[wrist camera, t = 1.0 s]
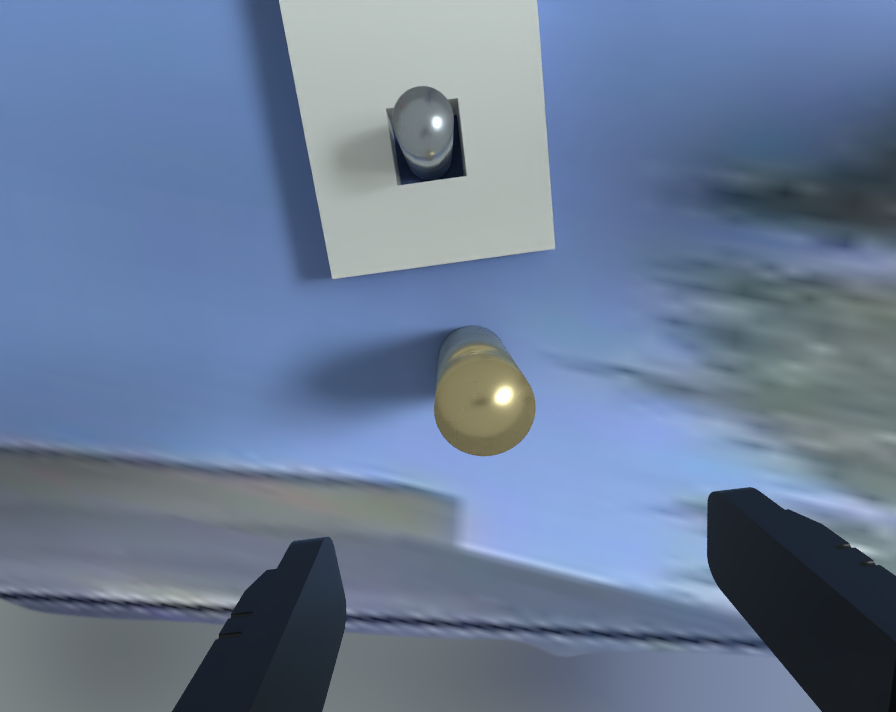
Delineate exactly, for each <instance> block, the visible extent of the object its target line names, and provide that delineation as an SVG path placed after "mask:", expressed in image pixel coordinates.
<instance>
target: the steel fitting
mask: <svg viewBox="0 0 896 712" xmlns="http://www.w3.org/2000/svg"><path fill="white" fill-rule="evenodd" d="M392 125H393V130H394V132H395V135H396V137H397V140H398V142H399V145H400V147H401V149H402V152H403V154H404V157H405V159H406V161H407V164H408V166H409V168H410V169H411V171H412V172H413V173H414V174H415V175H416V176H418V177H420V178H422V179H426V180H432V179H436V178H439V177H441V176H442V175H443V174H444V173H445V172H446V171H447V170H448V168H449V167H450V164H451V161H452V149H453V128H454V115H453V111H452V107H451V105H450V103H449V101H448V100H447V98H446V97H445V96H444V95H443V94H442V93H441V92H439V91H438V90H436V89H434V88H432V87H428V86H417V87H413V88H411V89H409V90H407V91H406V92H404V93H403V94H402V95H401V96H400V98H399V99H398V100H397V102H396V104H395V106H394V110H393V114H392Z"/></svg>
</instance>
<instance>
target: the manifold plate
mask: <svg viewBox="0 0 896 712" xmlns="http://www.w3.org/2000/svg"><path fill="white" fill-rule="evenodd" d="M279 4H280V9H281V14H282V19H283V24H284V30H285V35H286V40H287V45H288V51H289V56H290V61H291V66H292V71H293V77H294V82H295V87H296V92H297V97H298V103H299V108H300V113H301V118H302V123H303V129H304V134H305V139H306V144H307V150H308V155H309V160H310V165H311V170H312V176H313V181H314V186H315V191H316V196H317V202H318V207H319V212H320V217H321V223H322V228H323V233H324V238H325V243H326V249H327V254H328V259H329V264H330V269H331V275H332V279H337V278H345V277H352V276H359V275H367V274H374V273H381V272H389V271H396V270H403V269H411V268H418V267H425V266H433V265H440V264H447V263H455V262H462V261H469V260H477V259H484V258H491V257H499V256H506V255H513V254H521V253H528V252H535V251H543V250H550V249H555V238H554V224H553V211H552V197H551V184H550V170H549V156H548V143H547V129H546V115H545V102H544V88H543V75H542V61H541V47H540V34H539V20H538V6H537V0H279ZM417 86H428V87H432V88H434V89H436V90H438V91H439V92H441V93H442V94H443V95H444V96H445V97H446V98H447V100H448V101H449V103H450V105H451V107H452V111H453V115H457V121H458V130H459V138H460V147H461V155H462V164H463V173H464V176H462V177H455V178H448V179H441V180H434V181H427V182H419V183H412V184H405V185H401V181H400V175H399V168H398V161H397V155H396V148H395V141H394V134H393V128H392V114H393V110H394V106H395V104H396V102H397V100H398V99H399V98H400V96H401V95H402V94H403V93H404V92H406V91H407V90H409V89H411V88H413V87H417Z"/></svg>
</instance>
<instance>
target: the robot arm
mask: <svg viewBox="0 0 896 712" xmlns="http://www.w3.org/2000/svg"><path fill="white" fill-rule="evenodd" d="M707 558H708V564H709V567H710V571H711V573H712V576H713V578H714V580H715V582H716V584H717V585H718V587H719V588H720V590H721V591H722V592H723V593H724V595H725V596H726V597H727V598H728V599H729V601H730V602H731V603H732V604H733V605H734V607H735V608H736V609H737V610H738V611H739V613H740V614H741V615H742V616H743V617H744V619H745V620H746V621H747V622H748V623H749V625H750V626H751V627H752V628H753V629H754V631H755V632H756V633H757V634H758V635H759V637H760V638H761V639H762V640H763V641H764V643H765V644H766V645H767V646H768V647H769V649H770V650H771V651H772V652H773V653H774V655H775V656H776V657H777V658H778V659H779V661H780V662H781V663H782V664H783V665H784V667H785V668H786V669H787V670H788V671H789V673H790V674H791V675H792V676H793V677H794V678H795V680H796V681H797V682H798V684H799V685H800V686H801V687H802V688H803V690H804V691H805V692H806V693H807V694H808V696H809V697H810V698H811V699H812V700H813V701H814V703H815V704H816V705H817V706H818V707H819V709H820V710H821V711H822V712H896V576H895V575H893V574H892V573H891V572H889V571H888V570H886V569H885V568H884V567H882V566H881V565H875V563H874V560H872V559H871V558H869V557H868V556H866V555H865V554H864V553H862V552H861V551H859V550H858V549H857V548H851V546H850V544H849V543H848V542H847V541H845V540H844V539H842V538H841V537H839V536H838V535H837V534H835V533H834V532H832V531H831V530H830V529H828V528H827V527H825V526H824V525H822V524H821V523H818V522H816V521H814V520H811V519H809V518H807V517H805V516H802V515H800V514H798V513H796V512H793V511H791V510H789V509H787V510H784V509H783V508H781V507H780V506H779V505H777V504H776V503H775V502H773V501H772V500H771V499H769V498H768V497H767V496H765V495H764V494H763V493H761V492H760V491H758V490H757V489H755V488H751V487H748V488H740V489H731V490H723V491H715V492H712V493H711V494H710V495H709V497H708V514H707ZM345 623H346V599H345V594H344V589H343V585H342V580H341V576H340V571H339V567H338V562H337V558H336V553H335V548H334V545H333V542H332V540H331V538H330V537H323V538H315V539H307V540H298V541H293V542H292V543H291V544H290V546H289V547H288V549H287V551H286V553H285V555H284V557H283V558H282V560H281V562H280V564H279V566H278V568H277V569H272V570H266V571H265V572H264V573H263V574H262V575H261V576H260V577H259V578H258V579H257V580H256V581H255V582H254V583H253V584H252V585H251V586H250V587H249V588H247V589H246V590H245V592H244V593H243V595H242V597H241V598H240V600H239V602H238V603H237V605H236V607H235V608H234V610H233V612H232V613H231V618H230V619H228V620H227V622H226V623H225V625H224V627H223V628H222V630H221V632H220V633H219V638H218V639H217V640H215V642H214V643H213V645H212V647H211V648H210V650H209V651H208V653H207V655H206V656H205V658H204V660H203V661H202V663H201V665H200V666H199V668H198V670H197V671H196V673H195V675H194V676H193V678H192V680H191V681H190V683H189V684H188V686H187V688H186V689H185V691H184V693H183V694H182V696H181V698H180V699H179V701H178V703H177V704H176V706H175V708H174V709H173V711H172V712H322V710H323V707H324V703H325V699H326V696H327V692H328V688H329V685H330V681H331V677H332V674H333V670H334V666H335V663H336V659H337V655H338V652H339V648H340V645H341V641H342V637H343V634H344V629H345Z"/></svg>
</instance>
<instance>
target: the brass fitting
mask: <svg viewBox="0 0 896 712" xmlns="http://www.w3.org/2000/svg"><path fill="white" fill-rule="evenodd" d="M434 414H435V420H436V423H437V426H438V428H439V430H440V432H441V434H442V435H443V437H444V438H445V439H446V440H447V441H448V442H449V443H450V444H451V445H452V446H454V447H455V448H457V449H458V450H460V451H462V452H465V453H468V454H471V455H476V456H492V455H497V454H500V453H503V452H505V451H508V450H510V449H511V448H513V447H514V446H516V445H517V444H518V443H519V442H520V441H521V440H522V439H523V438H524V437H525V436H526V435H527V433H528V432H529V430H530V428H531V426H532V423H533V420H534V417H535V398H534V394H533V391H532V389H531V387H530V385H529V383H528V382H527V380H526V379H525V377H524V376H523V374H522V372H521V371H520V369H519V368H518V366H517V365H516V363H515V362H514V360H513V359H512V357H511V356H510V354H509V353H508V351H507V350H506V348H505V347H504V345H503V344H502V342H501V340H500V339H499V338H498V337H497V336H496V335H495V334H494V333H493V332H491V331H490V330H488V329H486V328H483V327H479V326H466V327H462V328H459V329H457V330H455V331H454V332H452V333H451V334H450V335H449V336H448V337H447V338H446V339H445V340H444V342H443V344H442V346H441V348H440V351H439V358H438V370H437V381H436V392H435V404H434Z"/></svg>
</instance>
